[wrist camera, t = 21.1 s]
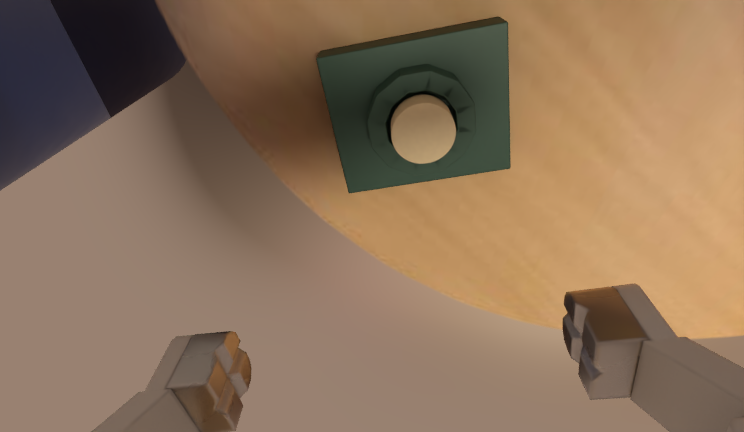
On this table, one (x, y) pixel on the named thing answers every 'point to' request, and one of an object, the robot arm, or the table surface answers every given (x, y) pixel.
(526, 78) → the table surface
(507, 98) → the control block
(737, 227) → the table surface
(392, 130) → the button
